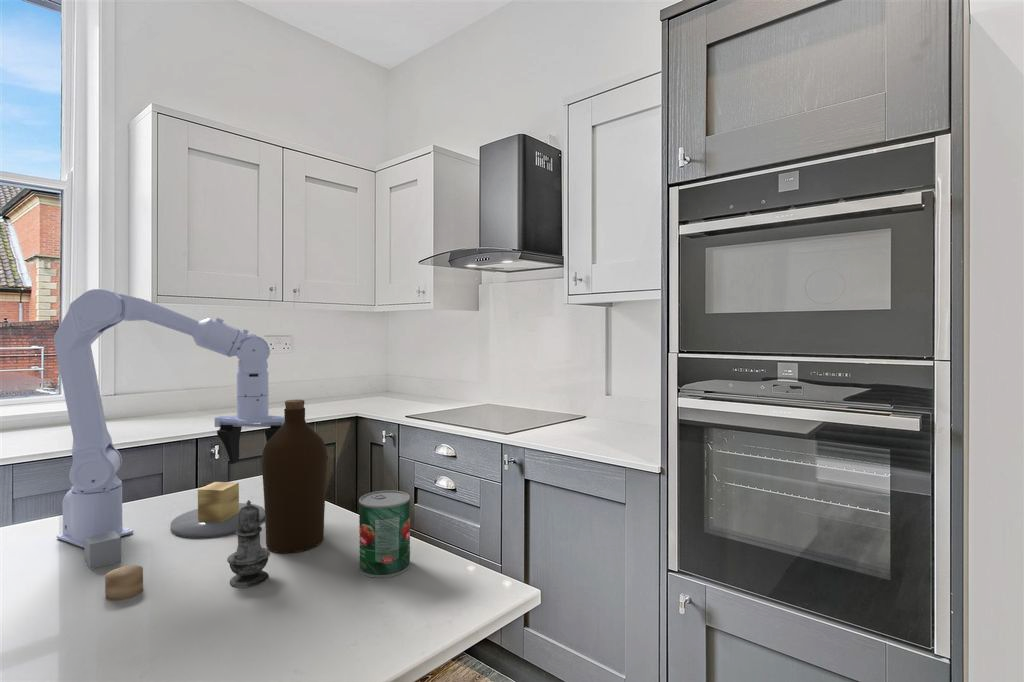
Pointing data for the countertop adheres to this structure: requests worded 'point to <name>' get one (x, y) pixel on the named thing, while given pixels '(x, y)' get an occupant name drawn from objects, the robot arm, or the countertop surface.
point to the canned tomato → (384, 533)
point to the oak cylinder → (123, 582)
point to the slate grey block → (102, 549)
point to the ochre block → (218, 501)
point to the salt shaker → (248, 550)
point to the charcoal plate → (207, 524)
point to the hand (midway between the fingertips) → (253, 462)
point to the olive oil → (294, 484)
